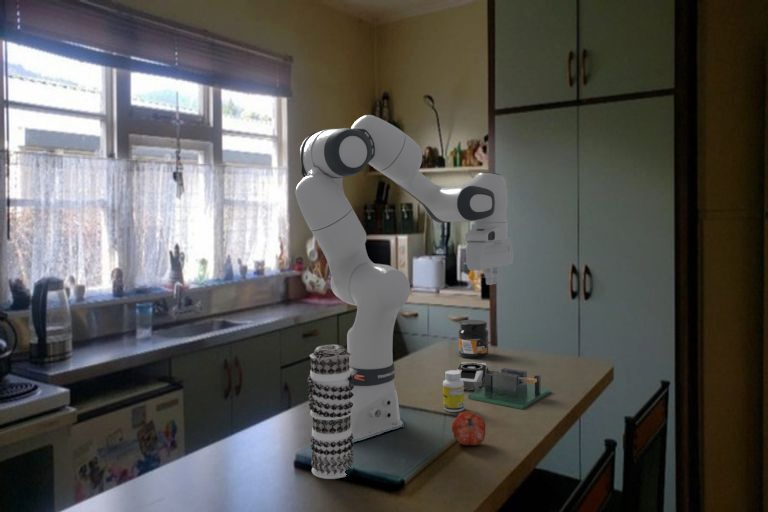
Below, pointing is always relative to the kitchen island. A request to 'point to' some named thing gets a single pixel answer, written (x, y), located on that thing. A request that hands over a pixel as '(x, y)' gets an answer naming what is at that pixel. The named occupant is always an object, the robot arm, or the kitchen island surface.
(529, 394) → the circuit board
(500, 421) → the kitchen island surface
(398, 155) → the robot arm
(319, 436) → the decorative candle
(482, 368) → the graphics card
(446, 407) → the supplement bottle
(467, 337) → the supplement container
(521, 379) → the white strip
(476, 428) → the pomegranate
